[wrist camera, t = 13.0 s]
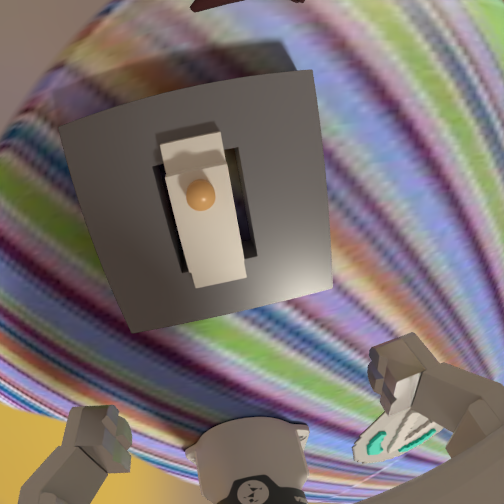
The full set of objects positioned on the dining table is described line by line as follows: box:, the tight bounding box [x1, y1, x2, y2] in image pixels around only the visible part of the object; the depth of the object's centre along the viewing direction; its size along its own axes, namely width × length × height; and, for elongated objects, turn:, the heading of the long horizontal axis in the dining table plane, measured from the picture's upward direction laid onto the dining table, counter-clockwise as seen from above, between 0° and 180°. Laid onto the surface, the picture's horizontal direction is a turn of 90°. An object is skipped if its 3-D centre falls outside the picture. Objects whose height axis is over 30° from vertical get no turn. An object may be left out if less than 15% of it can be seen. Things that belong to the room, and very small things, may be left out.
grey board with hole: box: [58, 70, 333, 333], centre depth 24 cm, size 18×18×3 cm
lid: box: [352, 408, 444, 464], centre depth 51 cm, size 28×28×2 cm
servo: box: [160, 131, 247, 288], centre depth 23 cm, size 11×4×6 cm, turn 9°
